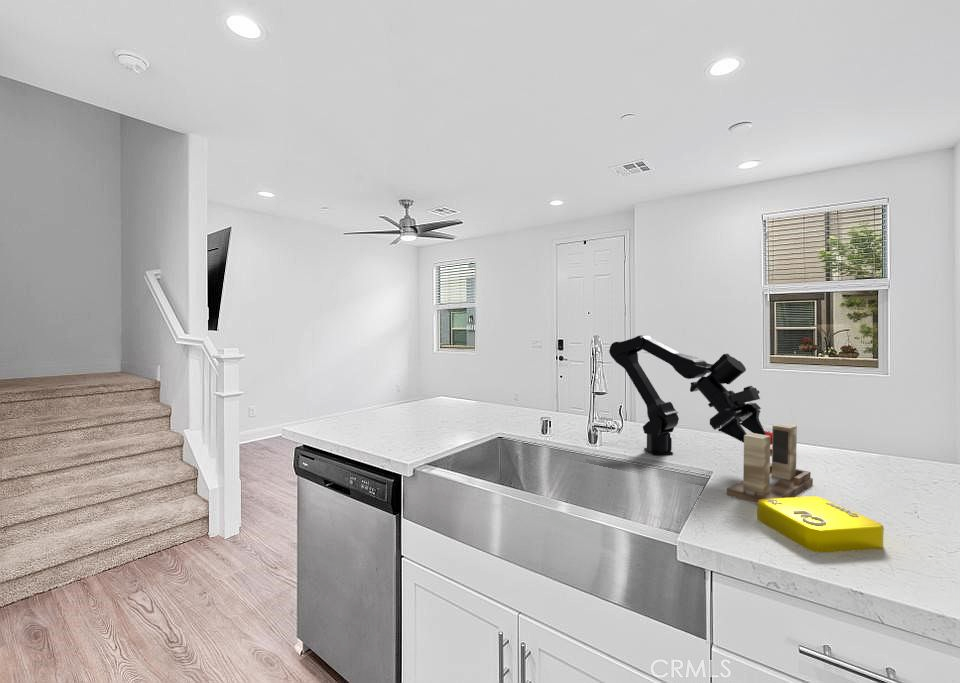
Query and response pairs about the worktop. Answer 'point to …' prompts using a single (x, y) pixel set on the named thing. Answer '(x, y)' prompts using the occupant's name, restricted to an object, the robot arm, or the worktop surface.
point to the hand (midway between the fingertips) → (758, 441)
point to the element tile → (820, 524)
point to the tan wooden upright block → (784, 451)
